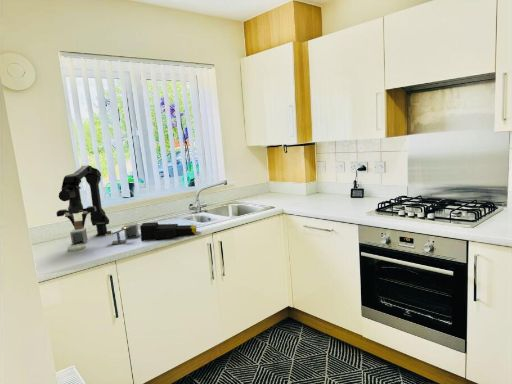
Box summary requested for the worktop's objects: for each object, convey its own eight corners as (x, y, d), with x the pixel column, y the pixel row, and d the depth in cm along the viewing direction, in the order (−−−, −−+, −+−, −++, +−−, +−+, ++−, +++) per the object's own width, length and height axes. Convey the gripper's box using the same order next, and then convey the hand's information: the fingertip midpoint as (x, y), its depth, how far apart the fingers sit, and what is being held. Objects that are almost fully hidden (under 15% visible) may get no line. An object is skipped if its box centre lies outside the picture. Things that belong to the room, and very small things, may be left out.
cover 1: (75, 242, 212) (72, 229, 211) (87, 240, 214) (85, 228, 212) (72, 245, 206) (70, 232, 205) (85, 243, 207) (83, 230, 206)
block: (76, 228, 199) (75, 221, 199) (84, 227, 200) (83, 220, 200) (74, 229, 195) (73, 222, 195) (82, 228, 196) (81, 221, 196)
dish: (69, 247, 201) (69, 245, 201) (87, 245, 203) (87, 243, 203) (65, 252, 192) (65, 250, 192) (83, 249, 194) (83, 247, 194)
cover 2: (126, 235, 216) (124, 223, 215) (138, 234, 217) (137, 222, 216) (125, 238, 209) (123, 226, 208) (138, 237, 211) (136, 224, 210)
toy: (194, 226, 200) (138, 227, 197) (194, 241, 201) (139, 242, 198) (196, 220, 215) (144, 221, 212) (196, 234, 216) (145, 235, 213)
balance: (107, 243, 202) (105, 229, 201) (131, 240, 205) (129, 225, 204) (106, 246, 198) (103, 231, 196) (131, 242, 201) (129, 227, 199)
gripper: (51, 202, 185) (56, 232, 188) (90, 198, 190) (95, 227, 192) (57, 199, 196) (61, 227, 198) (94, 195, 201) (98, 223, 203)
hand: (79, 226), depth 198 cm, fingers closed on block, 4 cm apart
